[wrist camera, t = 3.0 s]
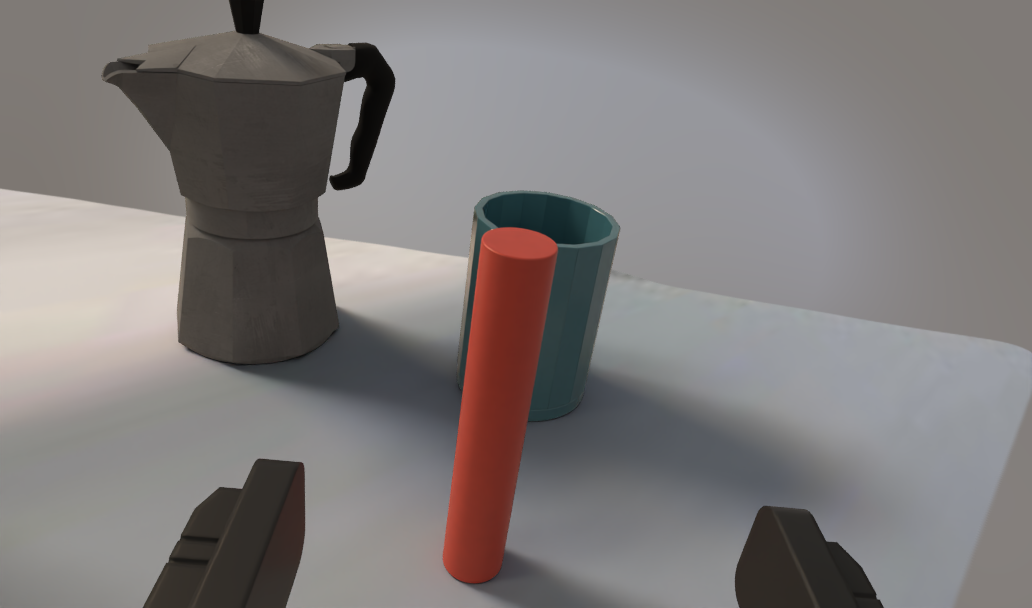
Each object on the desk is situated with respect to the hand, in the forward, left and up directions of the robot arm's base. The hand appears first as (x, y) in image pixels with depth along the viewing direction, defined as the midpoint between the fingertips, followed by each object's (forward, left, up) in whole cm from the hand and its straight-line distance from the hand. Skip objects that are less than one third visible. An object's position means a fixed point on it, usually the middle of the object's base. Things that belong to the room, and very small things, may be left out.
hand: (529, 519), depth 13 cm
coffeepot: (-19, +24, -14) cm, 34 cm away
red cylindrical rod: (-3, +11, -14) cm, 18 cm away
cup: (-4, +24, -14) cm, 28 cm away
